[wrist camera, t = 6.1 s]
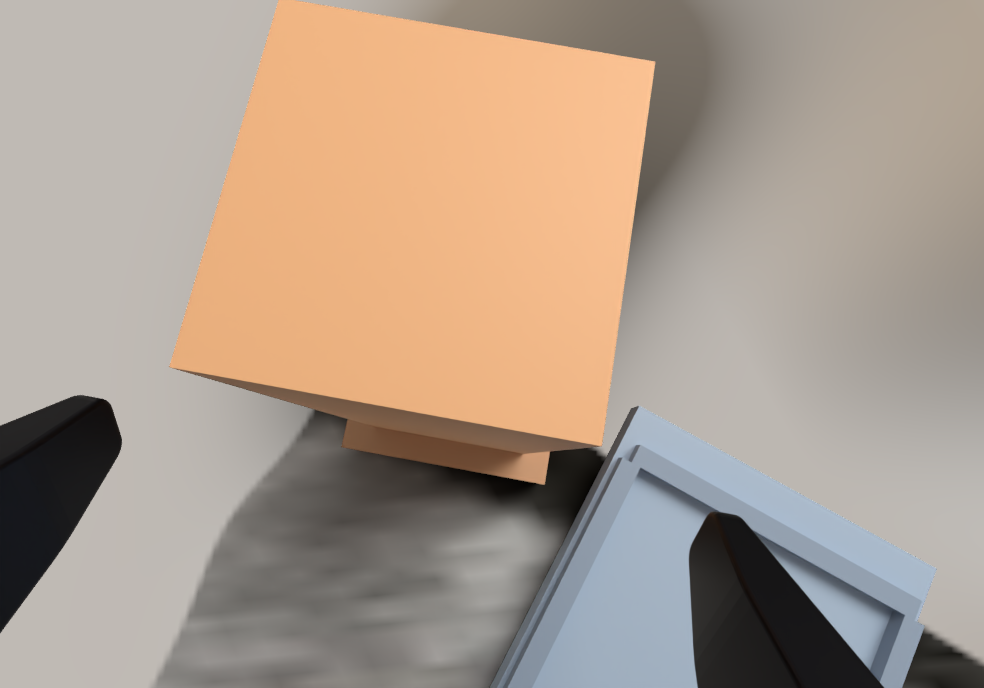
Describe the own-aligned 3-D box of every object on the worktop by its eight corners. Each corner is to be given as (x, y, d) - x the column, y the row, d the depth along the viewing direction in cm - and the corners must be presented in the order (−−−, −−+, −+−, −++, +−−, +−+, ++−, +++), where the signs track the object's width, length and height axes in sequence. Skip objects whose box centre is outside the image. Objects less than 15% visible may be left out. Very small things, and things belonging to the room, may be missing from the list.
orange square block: (537, 481, 18) (666, 535, 6) (356, 448, 18) (74, 426, 6) (565, 305, 20) (724, 18, 7) (395, 275, 20) (234, -65, 7)
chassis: (759, 959, 16) (788, 1010, 14) (450, 765, 17) (447, 795, 15) (912, 562, 18) (950, 572, 17) (631, 408, 19) (643, 404, 17)
